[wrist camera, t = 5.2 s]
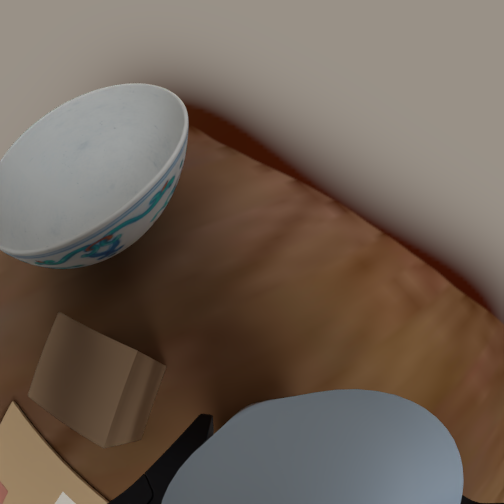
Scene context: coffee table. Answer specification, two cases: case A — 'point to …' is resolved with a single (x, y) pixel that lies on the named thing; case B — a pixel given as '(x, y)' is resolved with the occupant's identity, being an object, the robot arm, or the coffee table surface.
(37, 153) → the chinaware
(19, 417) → the envelope
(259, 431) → the grey cylinder
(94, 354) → the walnut block
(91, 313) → the coffee table surface
